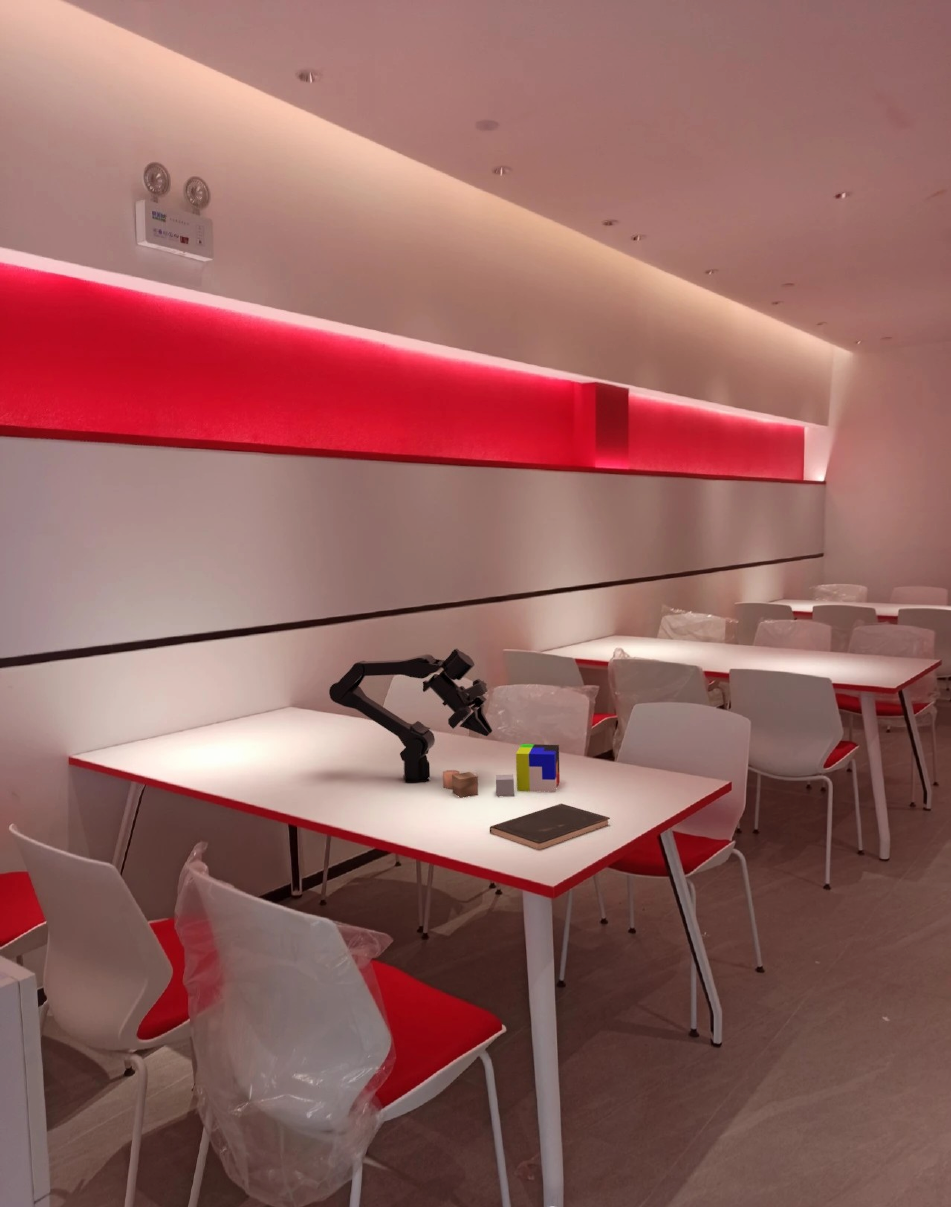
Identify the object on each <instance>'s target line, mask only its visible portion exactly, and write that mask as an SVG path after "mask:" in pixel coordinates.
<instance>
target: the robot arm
mask: <svg viewBox="0 0 951 1207" xmlns="http://www.w3.org/2000/svg"><path fill="white" fill-rule="evenodd" d="M474 666H475V662H474V660H473V659H472V658H471V657H470V656H469V655H468V654H466V653H465V652H463V651H461V650H459V649H458V648H454V649H453V650H452V651H451V653H450V654H449V655H448V656H447V657H446V659H438V658H435V656H433V655H432V654H428V653H427V654H422V655H418V656H413V657H410V658H406V659H395V660H394V659H391V660H390V659H389V660H370V661H367V660H360V661H358V662H355V663H354V664H353V665H352V667H351V668H350V669H349V670H348V671H347V672H346V673H345V674H344V675H343V676H342V677H341V678H340V679H339V680H338V681H336V682H335V683H333V684H332V685H331V686H330V687H329V690H328V692H329V698H330V700H331V701H332V702H334V703H335V704H338V705H340V706H343V707H345V708H348V709H349V708H350V709H353V710H356V711H358V712H360V713H361V714H363V715H364V716H365V717H368V718H369V719H370V720H372V721H373V722H375V723H376V724H378V725H379V726H381V727H382V728H384V729H386V730H387V731H389V732H390V733H392V734H394V735H395V736H396V737H397V738H398V739H399V740H400V742H401V744H402V745H403V746H404V747H405V748H403V749H402V750H401V751H400V752H399V756H400V758H401V761H403V775H402V777H403V780H404V783H419V782H429V781H430V777H431V770H430V768H431V767H430V761H429V760H428V757H427V755H429V752H430V749H431V748H432V747H434V745H435V741H436V739H435V734H434V733H433V732H432V731H431V730H430V729H431V727H428V726H425V725H424V724H423V723H422V722H421V721H419V720H417V721H416V722H414V723H409V722H407V721H405V720H404V719H403V718H400V717H399V716H398V715H396V714H394V712H392V711H390V710H388V709H386V708H385V707H384V706H382V705H381V704H379V703H377V702H376V701H375V700H373V699H372V698H370V697H369V696H367V695H366V694H365V692H364V690H363V689H362V688H361V687H360V685H361V684H362V682H363V681H364V678H366V677H369V676H372V677H374V676H399V675H400V676H406V677H409V678H414V679H419V680H420V679H425V678H427V677H429V676H431V675H432V676H431V677H430V678H429V679H428V680H423V681H422V692H423V693H425V692H427V691H429V690H430V689H431V690H432V691H433V692H434V693H435V694H436V695H437V697H439V698H440V699H441V701H442V703H441V704H442V705H443V707H446V706H447V707H448V708H449V709H450V710H451V711H453V714H452V715H451V716H450V717H448V718H447V722H448V725H449V727H450V728H451V729H452V730H453V729H456V727H458V726H459V727H460V728H464V729H466V730H469V731H472V732H475V733H478V734H480V735H482V736H485V737H488V736H489V735H490V734H492V732H493V729H492V727H491V725H490V724H489V721H488V719H487V718H486V716H485V713H484V707H485V706H484V705H485V702H487V698H486V697H485V696H484V695H485V694H486V693H488V692H489V691H488V688H487V685H488V684H487V683H486V682H485V681H484V680H481V679H480V678H477V679H475V680H473V681H472V685H471V686H469V687H466V688H465V686H463V685H460V686H459V685H458V684H457V683H456V682H455V681H456V680H457V681H462V679H463V678H464V677H465V676H466V674H468V673H469V672H470V671H471V669H473V667H474ZM441 670H442V671H441ZM439 671H441V672H439ZM437 672H439V674H438V673H437ZM460 723H461V724H460Z"/></svg>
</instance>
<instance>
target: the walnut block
mask: <svg viewBox="0 0 951 1207" xmlns="http://www.w3.org/2000/svg"><path fill="white" fill-rule="evenodd" d="M478 781H479V778H478V776H477V775H476V774H474V773H472V772H471V771H466V772H461V773H460V772H459V774H453V775H452V789H451V790H452V794H453V795H455V796H456V797H458V796H459V797H458V798H459V799H462V798H463V797H464V798H468V796H470V797H475V796H479V782H478ZM464 798H463V799H464Z"/></svg>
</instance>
